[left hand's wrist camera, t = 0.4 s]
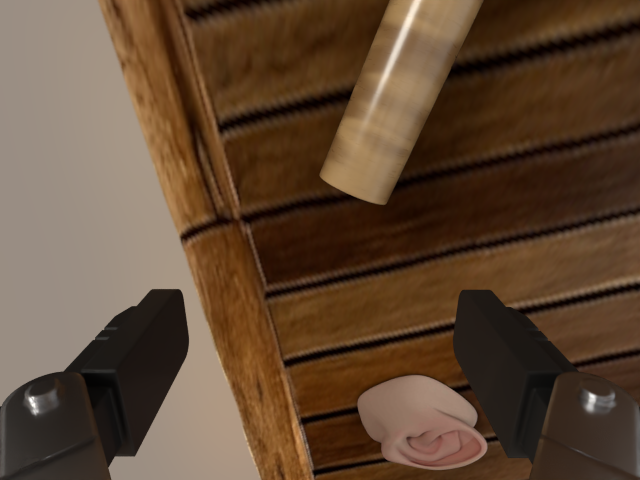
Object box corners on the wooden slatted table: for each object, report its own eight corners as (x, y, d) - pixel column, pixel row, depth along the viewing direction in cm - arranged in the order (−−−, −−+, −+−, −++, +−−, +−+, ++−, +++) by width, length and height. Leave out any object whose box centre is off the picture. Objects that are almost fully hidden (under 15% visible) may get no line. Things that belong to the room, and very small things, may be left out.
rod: (380, 193, 36) (392, 211, 30) (319, 168, 35) (319, 182, 29) (527, -120, 28) (582, -178, 22) (451, -162, 27) (487, -233, 21)
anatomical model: (341, 437, 40) (428, 377, 38) (339, 409, 44) (418, 352, 41) (419, 502, 44) (503, 451, 41) (411, 470, 48) (488, 421, 45)
